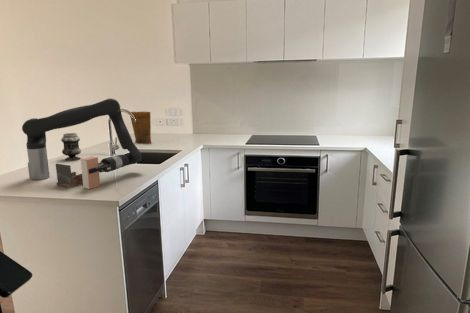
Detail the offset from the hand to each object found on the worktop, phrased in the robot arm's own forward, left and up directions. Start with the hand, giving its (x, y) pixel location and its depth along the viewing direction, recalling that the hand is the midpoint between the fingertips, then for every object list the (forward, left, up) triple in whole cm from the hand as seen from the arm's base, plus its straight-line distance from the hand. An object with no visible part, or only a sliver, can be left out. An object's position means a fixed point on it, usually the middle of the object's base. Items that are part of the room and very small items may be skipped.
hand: (86, 171), depth 169 cm
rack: (-9, +11, -9) cm, 17 cm away
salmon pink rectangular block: (+2, +2, -9) cm, 9 cm away
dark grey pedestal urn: (-21, +74, -9) cm, 78 cm away
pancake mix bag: (+26, +127, -9) cm, 130 cm away
